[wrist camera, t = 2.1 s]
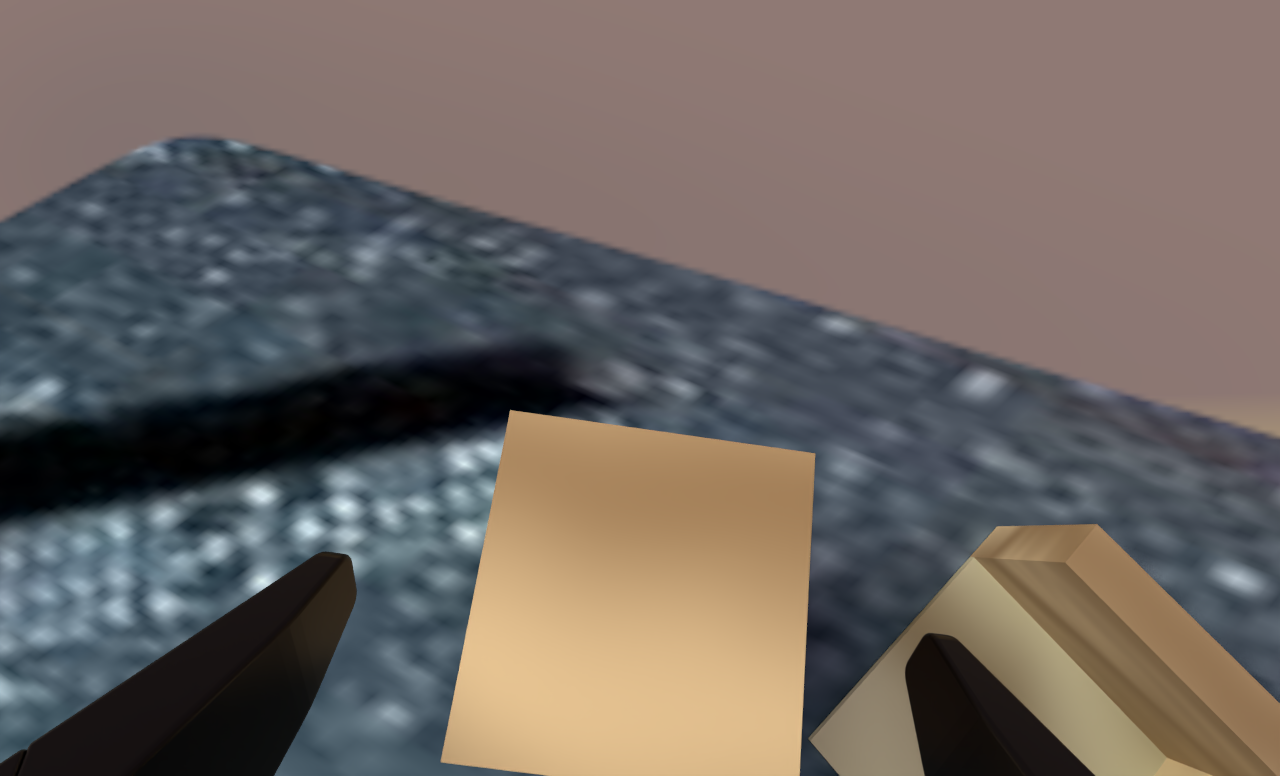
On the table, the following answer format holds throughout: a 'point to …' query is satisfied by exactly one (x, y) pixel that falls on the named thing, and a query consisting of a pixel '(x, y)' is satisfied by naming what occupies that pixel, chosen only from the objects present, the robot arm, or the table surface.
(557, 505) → the maple block
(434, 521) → the table surface
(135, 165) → the table surface
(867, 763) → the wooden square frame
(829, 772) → the table surface
